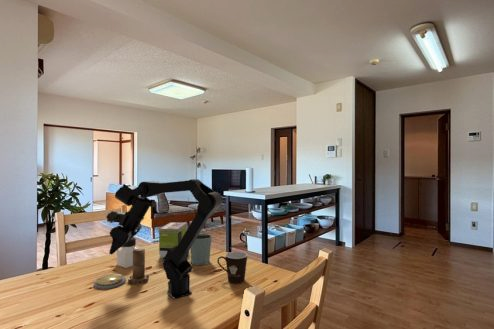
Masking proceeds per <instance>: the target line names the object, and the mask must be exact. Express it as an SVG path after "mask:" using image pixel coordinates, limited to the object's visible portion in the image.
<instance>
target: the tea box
mask: <svg viewBox="0 0 494 329" xmlns="http://www.w3.org/2000/svg"><path fill="white" fill-rule="evenodd" d="M187 229H188V222H168V223H167V224H165V225H163V226H162V227H160V228H158V243H159V244H158V246H159V247H158V248H159V249H158V250H159V251H158V253H159V254H158V255H159V259H163V258H164V257H165V256H166V254H167V251H168V250H169V249H170V248H172V247H174V246H176V245H178V244H179V242H180V241H181V239H182V237H183V236H184V234H185V232H186V231H187Z"/></svg>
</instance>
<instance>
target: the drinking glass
mask: <svg viewBox="0 0 494 329" xmlns="http://www.w3.org/2000/svg"><path fill="white" fill-rule="evenodd" d="M212 237H213V236H212V235H211V234H208V233H199V235H198V237H197V238H196V240H195V242H194V243H193V245H192V247H191V248H190V250H189V251H190V264H191V265H195V266H203V265H207V264H209V263H210V259H211V255H210V254H211V249H212V247H211V246H212V239H213V238H212Z"/></svg>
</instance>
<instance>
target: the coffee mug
mask: <svg viewBox="0 0 494 329" xmlns="http://www.w3.org/2000/svg"><path fill="white" fill-rule="evenodd" d="M220 259H224V260H225V263H226V268H225V267H224V266H222V265H221V263H220ZM216 261H217V264H218V266H219V267H220V268H221V269H222V270H223V271H224V272H226V274H227V281H228V283H230V284H234V285H238V284H243V283H244V282H245V278H246V269H247V261H248V253H246V252H244V251H231V252H226V253H225V256H219V257H218V258H217V260H216Z"/></svg>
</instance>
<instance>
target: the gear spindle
mask: <svg viewBox="0 0 494 329" xmlns="http://www.w3.org/2000/svg"><path fill="white" fill-rule="evenodd" d="M137 248H138V249H134V250H133V266H132V275H130V276H129V278H128V279H127V283H128V284H129V285H130V284H132V285H135V286H137V285H140V284H143V283H145V284H146V283H147V282H149V279H150V276H149V274H148V273H147V274H146V249H145V248H142V247H141V248H140V247H137Z"/></svg>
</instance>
